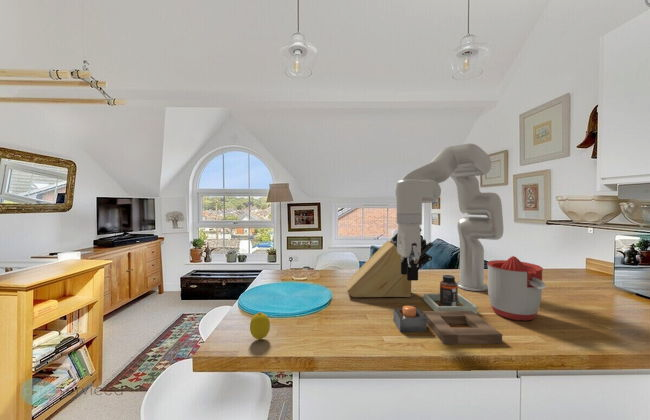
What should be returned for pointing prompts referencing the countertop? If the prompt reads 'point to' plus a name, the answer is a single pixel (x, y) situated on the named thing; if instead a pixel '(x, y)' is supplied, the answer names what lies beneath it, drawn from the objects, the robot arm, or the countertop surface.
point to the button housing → (410, 321)
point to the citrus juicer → (515, 288)
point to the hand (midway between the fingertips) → (409, 276)
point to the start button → (409, 311)
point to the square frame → (474, 335)
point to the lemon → (259, 326)
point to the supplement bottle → (448, 291)
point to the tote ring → (436, 297)
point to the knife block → (385, 273)
